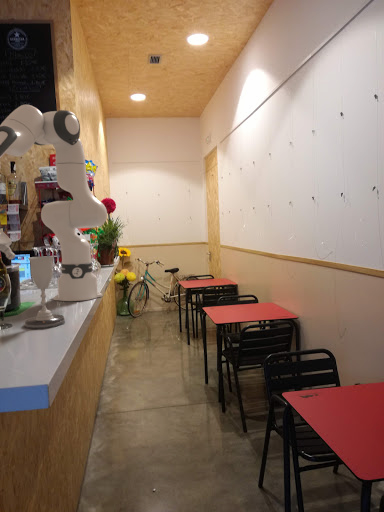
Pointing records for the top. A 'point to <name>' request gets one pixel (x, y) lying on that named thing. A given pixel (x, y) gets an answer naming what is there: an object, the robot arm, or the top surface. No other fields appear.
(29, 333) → the top surface
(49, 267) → the chalice
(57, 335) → the top surface
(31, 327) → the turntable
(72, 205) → the robot arm
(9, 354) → the top surface
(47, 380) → the top surface
